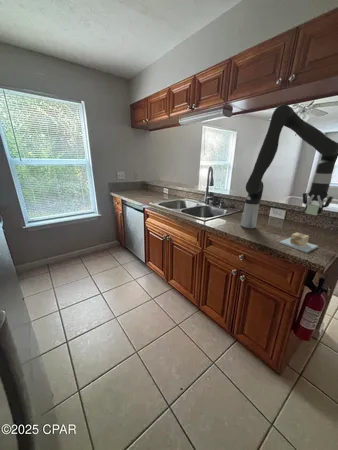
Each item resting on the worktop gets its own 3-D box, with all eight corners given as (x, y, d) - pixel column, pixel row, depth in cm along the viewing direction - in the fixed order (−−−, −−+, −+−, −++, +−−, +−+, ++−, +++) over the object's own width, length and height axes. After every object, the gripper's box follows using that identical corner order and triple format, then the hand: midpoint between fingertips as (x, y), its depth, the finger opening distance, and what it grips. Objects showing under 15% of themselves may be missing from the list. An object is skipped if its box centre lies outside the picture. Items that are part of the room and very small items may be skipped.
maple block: (289, 242, 104) (291, 234, 103) (295, 240, 107) (297, 232, 106) (301, 246, 100) (303, 237, 98) (306, 244, 103) (309, 235, 101)
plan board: (279, 242, 106) (279, 241, 106) (290, 238, 112) (290, 237, 112) (306, 252, 95) (307, 250, 95) (317, 247, 101) (317, 245, 101)
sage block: (305, 213, 105) (307, 204, 104) (309, 212, 108) (311, 203, 106) (315, 215, 101) (318, 206, 100) (319, 214, 104) (322, 205, 102)
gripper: (302, 181, 103) (295, 210, 108) (334, 184, 91) (325, 217, 97) (309, 180, 107) (302, 209, 112) (340, 183, 95) (331, 215, 101)
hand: (312, 212), depth 105 cm, fingers closed on sage block, 5 cm apart
